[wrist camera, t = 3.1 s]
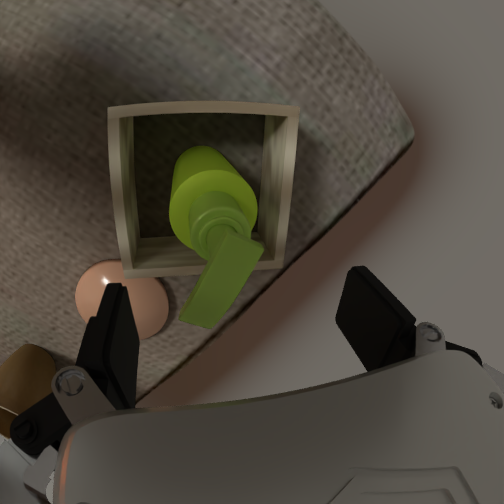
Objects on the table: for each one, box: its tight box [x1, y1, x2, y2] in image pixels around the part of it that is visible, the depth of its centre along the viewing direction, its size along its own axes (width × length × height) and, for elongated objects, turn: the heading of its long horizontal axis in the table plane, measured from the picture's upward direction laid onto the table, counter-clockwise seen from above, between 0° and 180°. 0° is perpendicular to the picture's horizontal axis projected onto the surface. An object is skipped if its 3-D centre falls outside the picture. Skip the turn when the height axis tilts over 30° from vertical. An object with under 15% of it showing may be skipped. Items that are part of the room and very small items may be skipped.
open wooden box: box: [108, 101, 300, 279], centre depth 27 cm, size 16×16×7 cm
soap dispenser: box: [169, 146, 264, 329], centre depth 21 cm, size 6×7×20 cm
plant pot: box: [0, 344, 56, 440], centre depth 29 cm, size 15×15×16 cm
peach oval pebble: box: [75, 259, 169, 340], centre depth 34 cm, size 13×13×1 cm
